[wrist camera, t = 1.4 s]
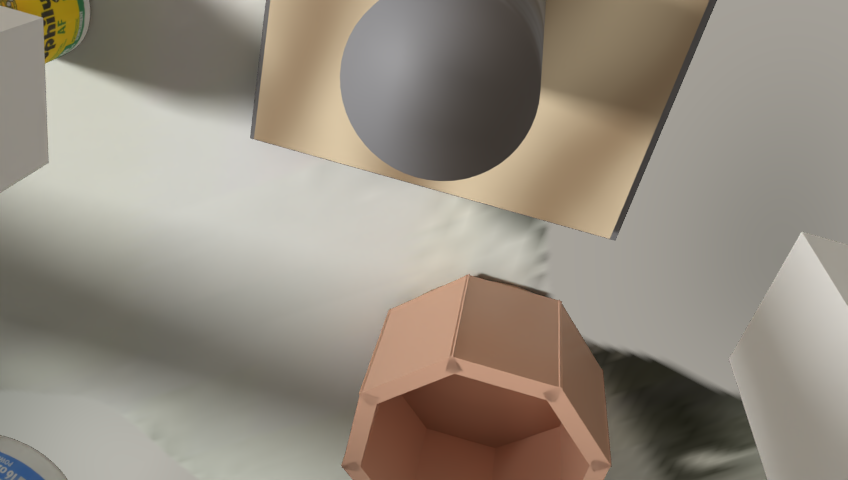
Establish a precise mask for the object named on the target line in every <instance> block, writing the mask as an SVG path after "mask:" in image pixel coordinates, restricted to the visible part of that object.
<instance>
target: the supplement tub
mask: <svg viewBox="0 0 848 480" xmlns="http://www.w3.org/2000/svg"><path fill="white" fill-rule="evenodd" d="M0 480H67V478H66V477H65V475H64V474H63V473H62V472H61V470H60V469H59V468H58V467H57V466H56V465H55V464H54V463H53V462H52V461H51V460H49V459H48V458H47V457H46V456H44V455H43V454H42V453H40V452H39V451H37V450H36V449H34V448H32V447H30V446H28V445H26V444H24V443H22V442H20V441H17V440H15V439H12V438H9V437H5V436H1V435H0Z"/></svg>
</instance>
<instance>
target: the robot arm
mask: <svg viewBox="0 0 848 480" xmlns="http://www.w3.org/2000/svg"><path fill="white" fill-rule="evenodd" d="M47 163H49V161H48V135H47V108H46V81H45V55H44V28H43V18H42V17H39V16H35V15H32V14H28V13H25V12H21V11H18V10H14V9H11V8H7V7H3V6H0V193H1V192H2V191H4V190H6V189H7V188H9V187H10V186H12V185H14V184H15V183H17V182H18V181H20V180H22V179H23V178H25V177H27V176H28V175H30V174H31V173H33V172H35V171H36V170H38V169H39V168H41V167H43V166H44V165H46V164H47ZM729 362H730V365H731V368H732V371H733V374H734V377H735V380H736V384H737V386H738V390H739V393H740V396H741V399H742V402H743V405H744V408H745V412H746V415H747V418H748V421H749V424H750V427H751V430H752V433H753V436H754V440H755V443H756V446H757V449H758V452H759V455H760V458H761V461H762V464H763V468H764V471H765V474H766V477H767V480H848V245H847V244H844V243H840V242H837V241H833V240H829V239H826V238H823V237H819V236H816V235H812V234H808V233H805V232H801V234H800V235H799V237H798V239H797V241H796V242H795V244H794V246H793V248H792V249H791V251H790V253H789V255H788V256H787V258H786V260H785V262H784V264H783V265H782V267H781V269H780V270H779V272H778V274H777V276H776V278H775V279H774V281H773V283H772V284H771V286H770V288H769V290H768V291H767V293H766V295H765V297H764V298H763V300H762V302H761V304H760V305H759V307H758V309H757V311H756V312H755V314H754V316H753V318H752V319H751V321H750V323H749V325H748V326H747V328H746V330H745V332H744V333H743V335H742V337H741V339H740V340H739V342H738V344H737V345H736V347H735V349H734V351H733V352H732V354H731V356H730V358H729Z"/></svg>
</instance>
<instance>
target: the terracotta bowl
mask: <svg viewBox="0 0 848 480" xmlns="http://www.w3.org/2000/svg"><path fill="white" fill-rule="evenodd" d="M341 466H342V468H344V470H345V471H346V472H347V473H348V474H349V476H350V477H351V478H352V479H353V480H604V478H605V476H606V474H607V472H608V470H609V468H610V467H612V466H611V454H610V443H609V432H608V421H607V410H606V399H605V387H604V376H603V369H601V367H600V366H599V364H598V362H597V361H596V359H595V357H594V356H593V354H592V352H591V351H590V349H589V348H588V346H587V344H586V343H585V341H584V339H583V338H582V336H581V334H580V333H579V331H578V329H577V328H576V326H575V325H574V323H573V321H572V320H571V318H570V316H569V315H568V313H567V311H566V310H565V308H564V307H563V305H562V302H561V301H560V300H555V299H552V298H548V297H545V296H541V295H537V294H534V293H532V292H530V291H528V290H525V289H523V288H520V287H517V286H514V285H510V284H505V283H501V282H493V281H488V280H485V279H481V278H478V277H474V276H471V275H470V274H469V275H466V276H464V277H462V278H460V279H458V280H455V281H453V282H451V283H449V284H446V285H444V286H441V287H438V288H436V289H433V290H431V291H429V292H427V293H425V294H423V295H421V296H419V297H417V298H415V299H413V300H410V301H408V302H406V303H404V304H401V305H399V306H397V307H395V308H392V309H390V310H389V311H388V313H387V316H386V319H385V322H384V325H383V327H382V330H381V333H380V336H379V339H378V341H377V344H376V347H375V350H374V352H373V355H372V358H371V361H370V364H369V366H368V369H367V372H366V375H365V378H364V380H363V383H362V386H361V389H360V392H359V400H358V404H357V408H356V412H355V416H354V420H353V424H352V428H351V432H350V436H349V440H348V444H347V448H346V453H345V456H344V459H343V462H342V465H341Z"/></svg>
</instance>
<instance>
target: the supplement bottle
mask: <svg viewBox="0 0 848 480" xmlns="http://www.w3.org/2000/svg"><path fill="white" fill-rule="evenodd" d="M0 6H3V7H7V8H11V9H14V10H18V11H21V12H25V13H28V14H32V15H35V16H39V17H42V18H43V28H44V55H45V63H47V62H49V61H52V60H54V59H56V58H58V57H60V56H62V55H64V54H66V53H68V52H70V51H71V50H73V49H74V48H76V47H77V46H78V45H79V44H80V43H81V42H82V40H83V39H84V37H85V35H86V33H87V30H88V27H89V22H90V3H89V0H0Z"/></svg>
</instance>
